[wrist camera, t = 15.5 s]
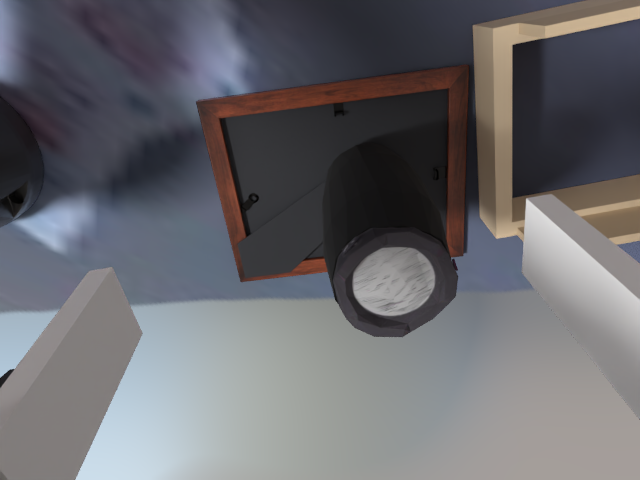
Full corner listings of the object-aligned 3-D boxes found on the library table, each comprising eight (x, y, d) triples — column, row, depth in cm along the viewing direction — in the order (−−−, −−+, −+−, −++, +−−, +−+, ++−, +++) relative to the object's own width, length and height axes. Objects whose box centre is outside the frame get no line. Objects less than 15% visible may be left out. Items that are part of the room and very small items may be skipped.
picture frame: (242, 273, 53) (458, 248, 52) (240, 283, 51) (463, 257, 50) (200, 98, 43) (463, 63, 42) (195, 102, 41) (469, 65, 40)
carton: (479, 216, 49) (514, 262, 40) (472, 24, 40) (515, 32, 31) (663, 182, 47) (739, 222, 39) (698, -25, 38) (807, -31, 30)
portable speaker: (421, 146, 44) (492, 242, 27) (388, 229, 48) (431, 359, 31) (337, 122, 43) (353, 206, 25) (310, 210, 47) (309, 333, 30)
